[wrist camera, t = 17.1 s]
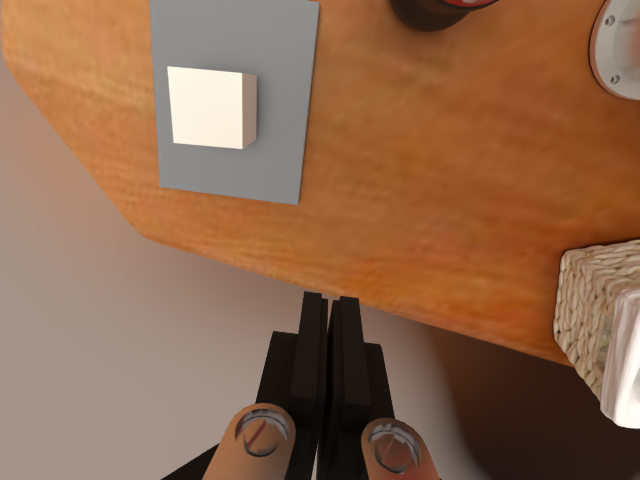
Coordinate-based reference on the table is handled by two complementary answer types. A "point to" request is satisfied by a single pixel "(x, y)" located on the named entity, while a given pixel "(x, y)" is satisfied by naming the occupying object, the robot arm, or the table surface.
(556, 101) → the table surface
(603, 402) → the storage basket
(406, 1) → the cola bottle
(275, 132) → the board
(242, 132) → the matte white box
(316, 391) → the robot arm
